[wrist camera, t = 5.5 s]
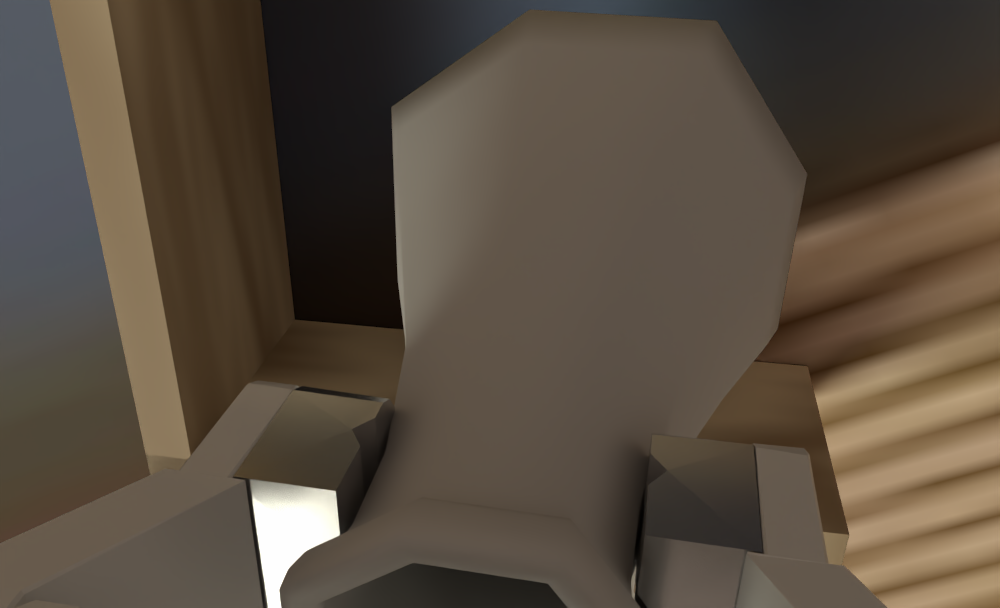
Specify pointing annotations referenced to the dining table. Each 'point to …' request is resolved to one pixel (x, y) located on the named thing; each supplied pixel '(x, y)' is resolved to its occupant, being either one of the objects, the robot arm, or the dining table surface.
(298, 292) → the dining table surface
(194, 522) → the robot arm
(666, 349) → the flask
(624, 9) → the dining table surface
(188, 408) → the u-shaped wooden frame
